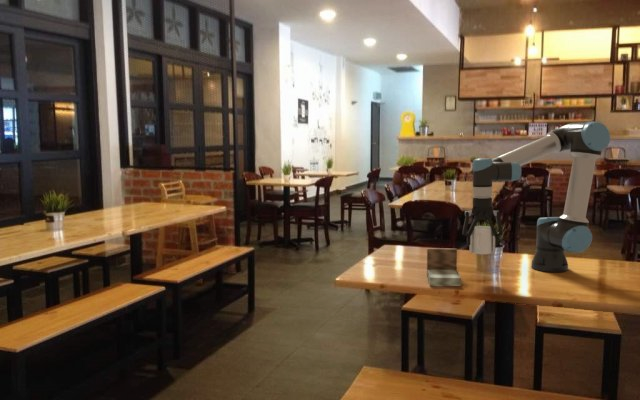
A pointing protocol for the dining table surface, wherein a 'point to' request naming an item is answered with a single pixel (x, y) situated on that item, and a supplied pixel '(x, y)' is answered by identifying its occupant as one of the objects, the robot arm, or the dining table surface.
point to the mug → (482, 240)
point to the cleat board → (442, 267)
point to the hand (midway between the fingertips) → (482, 252)
